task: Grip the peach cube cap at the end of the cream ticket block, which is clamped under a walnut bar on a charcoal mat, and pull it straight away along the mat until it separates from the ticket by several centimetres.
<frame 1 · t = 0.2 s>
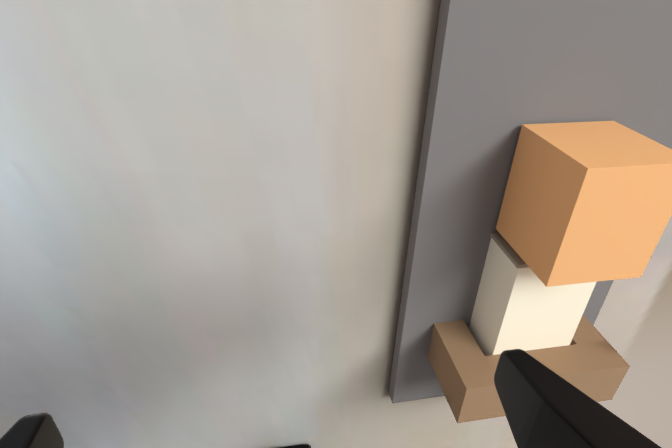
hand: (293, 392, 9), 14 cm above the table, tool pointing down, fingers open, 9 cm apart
peach cube cap: (581, 200, 22), point 4 cm above the table, slide at 0.0 cm
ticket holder: (501, 298, 30), on the table
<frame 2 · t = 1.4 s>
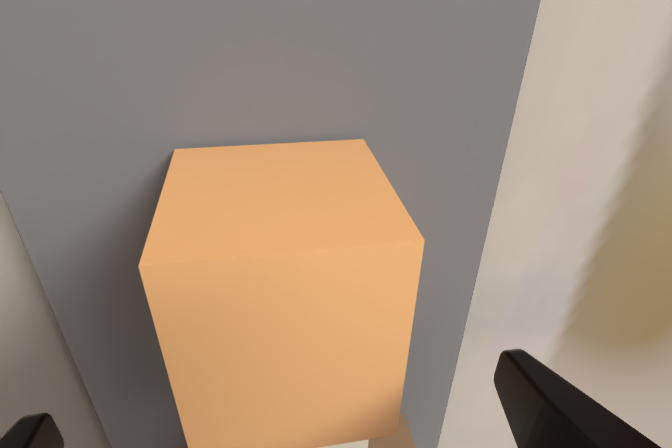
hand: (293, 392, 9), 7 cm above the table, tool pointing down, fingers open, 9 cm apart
peach cube cap: (284, 290, 12), point 4 cm above the table, slide at 0.0 cm
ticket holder: (287, 402, 20), on the table
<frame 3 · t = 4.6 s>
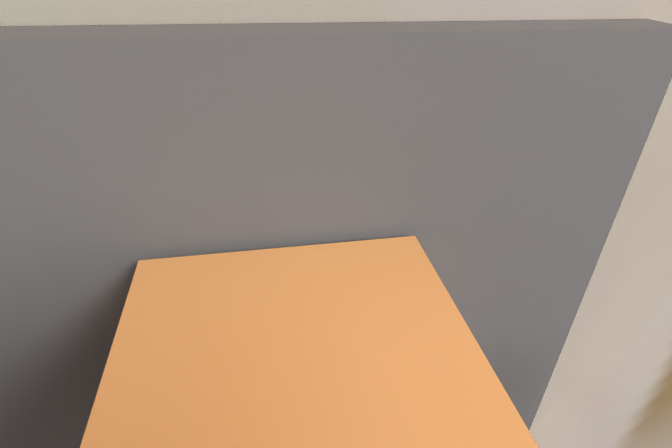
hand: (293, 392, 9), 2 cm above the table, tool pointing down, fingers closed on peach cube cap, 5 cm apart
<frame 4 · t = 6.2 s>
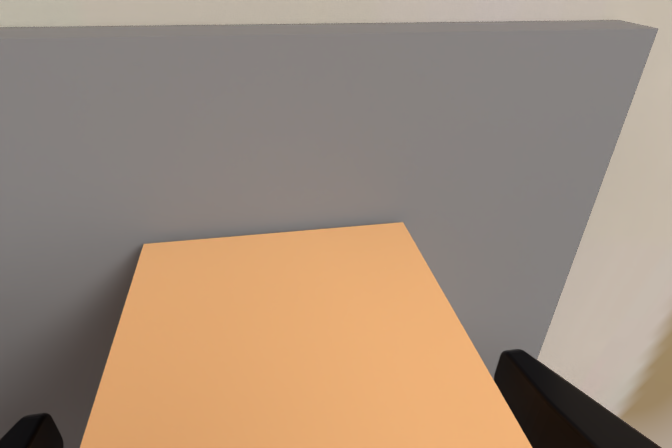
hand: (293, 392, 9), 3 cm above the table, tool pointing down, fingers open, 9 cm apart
peach cube cap: (297, 443, 8), point 4 cm above the table, slide at 5.9 cm
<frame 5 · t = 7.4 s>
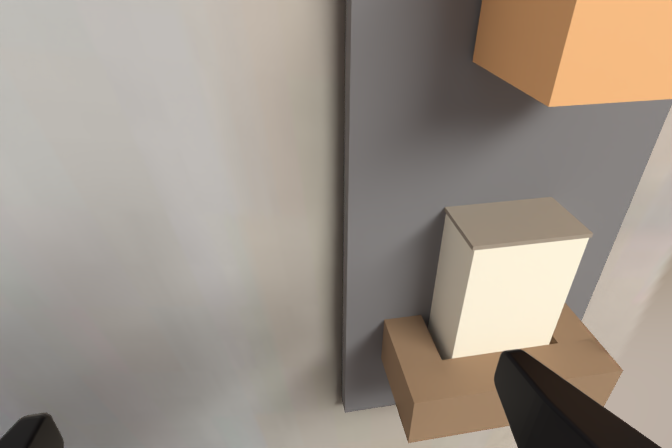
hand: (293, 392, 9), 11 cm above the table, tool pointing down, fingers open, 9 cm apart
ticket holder: (468, 288, 25), on the table
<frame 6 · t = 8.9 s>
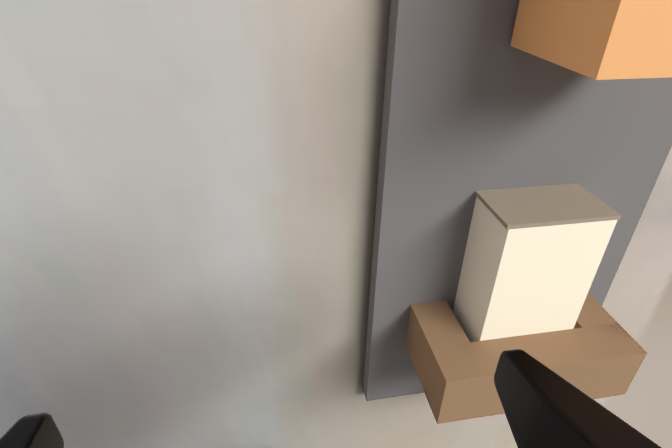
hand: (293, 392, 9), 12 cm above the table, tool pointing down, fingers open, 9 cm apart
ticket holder: (491, 276, 25), on the table
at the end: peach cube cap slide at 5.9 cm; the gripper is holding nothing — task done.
